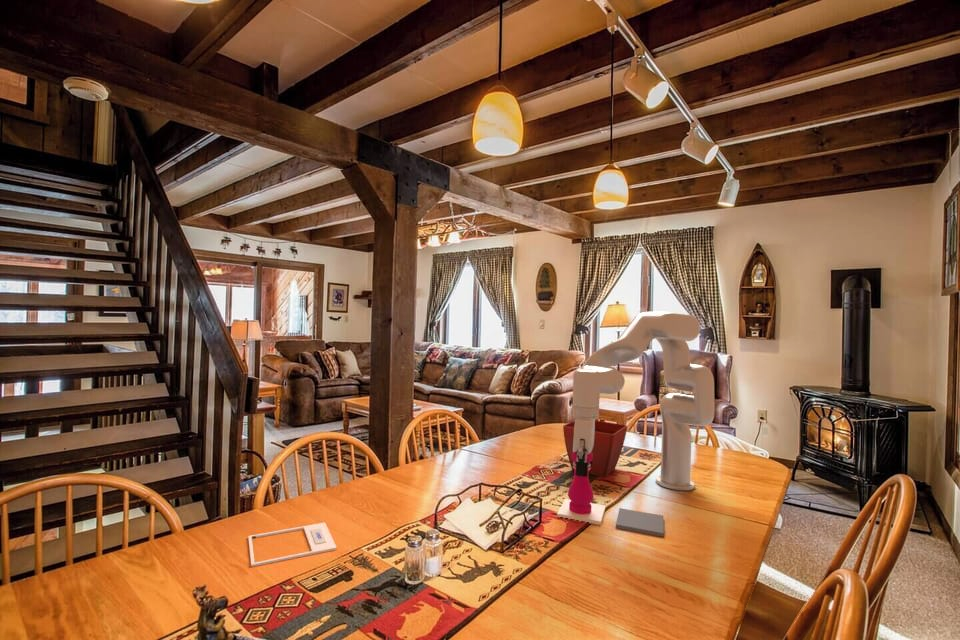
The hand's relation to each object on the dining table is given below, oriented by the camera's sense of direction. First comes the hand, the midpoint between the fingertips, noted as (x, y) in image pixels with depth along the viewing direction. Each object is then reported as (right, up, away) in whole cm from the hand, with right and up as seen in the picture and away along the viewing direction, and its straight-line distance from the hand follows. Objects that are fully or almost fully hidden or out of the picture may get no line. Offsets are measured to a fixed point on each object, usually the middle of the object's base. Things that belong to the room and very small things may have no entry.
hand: (584, 470), depth 135 cm
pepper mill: (-1, -11, -1) cm, 11 cm away
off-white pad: (-1, -12, 0) cm, 12 cm away
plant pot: (+13, -13, +40) cm, 44 cm away
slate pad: (+14, -13, -6) cm, 20 cm away
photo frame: (-75, -10, -24) cm, 80 cm away
